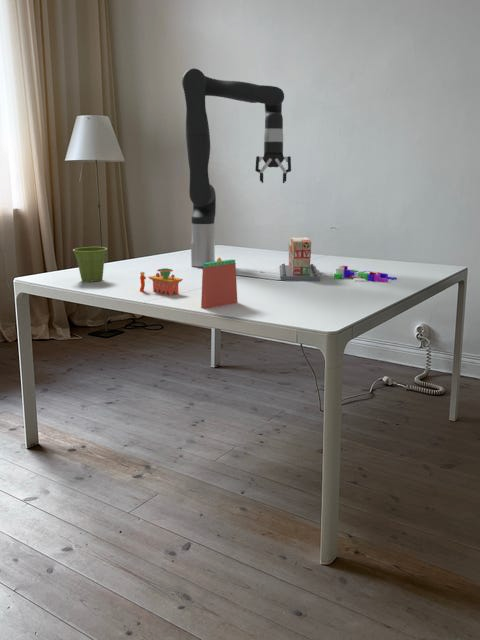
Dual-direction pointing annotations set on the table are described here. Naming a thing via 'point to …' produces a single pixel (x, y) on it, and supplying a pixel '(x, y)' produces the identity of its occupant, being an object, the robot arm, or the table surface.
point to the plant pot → (90, 262)
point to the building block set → (359, 275)
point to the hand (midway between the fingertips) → (273, 183)
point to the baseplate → (287, 275)
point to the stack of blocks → (300, 255)
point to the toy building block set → (215, 283)
